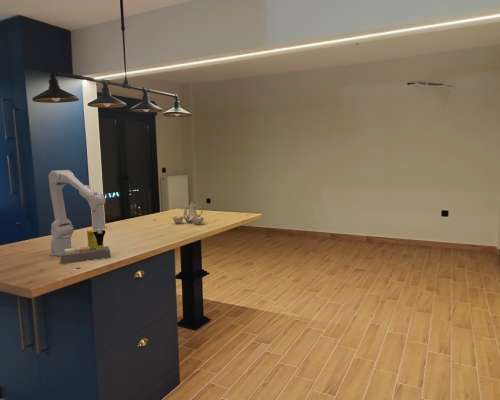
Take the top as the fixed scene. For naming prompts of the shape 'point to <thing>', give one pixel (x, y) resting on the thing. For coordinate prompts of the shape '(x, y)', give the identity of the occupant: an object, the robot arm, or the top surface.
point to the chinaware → (190, 216)
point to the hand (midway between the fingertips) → (100, 245)
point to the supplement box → (92, 239)
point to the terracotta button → (85, 249)
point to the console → (85, 255)
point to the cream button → (69, 251)
